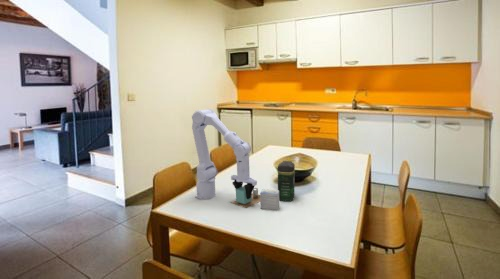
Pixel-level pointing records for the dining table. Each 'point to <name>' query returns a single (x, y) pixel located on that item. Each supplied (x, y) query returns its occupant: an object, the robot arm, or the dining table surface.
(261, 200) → the medicine box
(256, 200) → the stand plate
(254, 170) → the dining table surface
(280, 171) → the coffee jar
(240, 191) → the teal foam brick
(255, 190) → the round post
